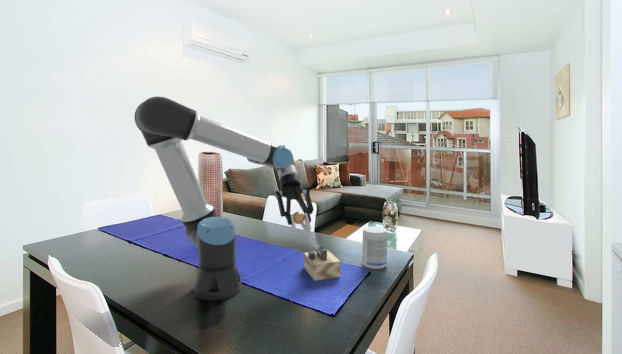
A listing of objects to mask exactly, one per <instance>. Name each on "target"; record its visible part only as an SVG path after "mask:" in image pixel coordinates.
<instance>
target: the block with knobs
mask: <svg viewBox="0 0 622 354" xmlns="http://www.w3.org/2000/svg"><path fill="white" fill-rule="evenodd" d="M318 245H319V246H320V248H321V249H322V250H321V256H320V255H319V254H318V250H317V249H316V250H315V251H313V250H309V251H306V252H304V253H303V268H304V270H305V271H306V272H307V273H308V275H309V276H310V277H311V279H312V280H313V281H314V282H317V281H322V280H329V279H335V277H336V278H340V277H341V260H340V259H339V258H337V256H335V255H334V253H332V252H331V251H330V250H328V249H326V248H325V249H323V245H322V244H318Z"/></svg>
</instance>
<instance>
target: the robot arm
mask: <svg viewBox="0 0 622 354" xmlns="http://www.w3.org/2000/svg"><path fill="white" fill-rule="evenodd" d="M134 123H135V124H136V126H137V127H136V128H138V130H139V131H140V132H141V134H142V136H143V139H144V140H145V143H146V145H147V147H149V148H151V149H153V150H155V152H156V155H157V157H158V160H159V161H160V164H161V166H162V168H163V170H164V173H165V175H166V177H167V180H168V182H169V184H170V186H171V188H172V190H173V193H174V195H175V198H176V200H177V202H178V203H179V207H180V208H181V211H182V213H183V214H182V216H181V219H180V221H181V222H182V225H183V227H184V232H185V235H186V237H187V239H188V241H190V242H191V243H192V244H193V245H194V246H195V247H196V249H197V252H198V267H199V268H198V272H197V275H196V279H195V282H194V285H193V288H194V289H193V292H194V295H195V297H196V298H197V299H200V300H204V301H221V300H224V299H225V300H226V299H228V298H231V297H233V296H235V295H237V294H238V293H239V292H240V291H241V290H242V288H243V287H242V279H241V276H240V273H239V270H238V268H237V266H236V265H237V264H236V263H237V262H236V261H237V260H236V234H237V233H236V229H235V223H234V221H233V220H231V219H230V218H228V217H223V216H218V214H217V212H216V210H215V207H214V206H213V205H212V204H210V203H208V202H207V200H206V197H205V194H204V192H203V190H202V187H201V184H200V182H199V181H198V177H197V176H196V173H195V171H194V168H193V166H192V163H191V161H190V159H189V156H188V154H187V151H186V149H185V147H184V144H183V142H182V141H189V140H193V141H196V142H199V143H202V144H204V145H208V146H211V147H214V148H217V149H220V150H222V151H226V152H229V153H232V154H235V155H238V156H241V157H244V158H246V159H247V160H246V161H248V162H250V163H252V164H257V165H261V166H267V167H270V168H276V171H277V174H278V180H279V184H280V189H281V190H276V191H275V194H274V197H275V198H276V200H277V205H278V209H279V213H280V214H279V215H280V217H282V218H283V217H284V218H285V219H286V222H287V225H288V226H291V232H292V235H295V234H296V232H297V226H296V223H295V222H294V218H293V214H294V213H291V205H292V204H291V203H292V201H293V200H296V202H297V203H298V205H299V207H300V209H301V211H302V213H303V215H304V221H303V222H304V224H305V225H306V229H307V232H310V233H311V230H312V226H311V222H312V217H311V215H312V214H313V212H314V206H313V203H312V202H313V201H312V198H311V195H310V193H311V192H310V189H309V188H307V189H303V187H302V186H301V182H300V181H301V180H300V178H299V175H298V174H299V173H298V171H297V167H296V163H295V159H294V155H293V152H292V150H291V147H290V146H288V145H285V144H283V145H277V144H274V143H271V142H269V141H266V140H263V139H261V138H259V137H256V136H253V135H251V134H248V133H245V132H243V131H241V130H237V129H235V128H233V127H230V126H227V125H224V124H222V123H219V122H216V121H215V120H211V119H210V118H209V119H208V118H206V117H204V116H201V115H199V114H198V111H197V110H196V109H195V110H194V109H193V108H190V107H188V106H187V105H186V106H185V105H184V104H182V103H179V102H177V101H175V100H172V99H170V98H168V97H164V96H152V97H149V98H147V99H145V100H144V101H142V102H141V103H140V104H139V105H138V106H137V107H136V109H135V112H134ZM302 194H303V196H304V199H305V201H304V199H303V196H302ZM283 196H284V197H285V198H286V200H285V201H286V206H285V205H284V201H283Z"/></svg>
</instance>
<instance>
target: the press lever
mask: <svg viewBox="0 0 622 354" xmlns="http://www.w3.org/2000/svg"><path fill="white" fill-rule="evenodd" d="M292 214H293V218H294V222H295V225H300V226H301V227H302V229H303V230H304V232H305V233H306V235H307V236H308V238H309V239H310V241H311V242H312V244H313V245H314V247H315V248H316V251H317V250H318V254H319V255H320V256H321V250H323V248H322V249H321V248H320V246H319V245H320V244H319V243H318V242H317V240H316V239H315V237H314V235H313V234H312V233H311V231H310V232H307V229H306V225H305V221H304V212H301V211H296V212H294V213H292Z"/></svg>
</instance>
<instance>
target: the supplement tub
mask: <svg viewBox="0 0 622 354" xmlns="http://www.w3.org/2000/svg"><path fill="white" fill-rule="evenodd" d="M387 262H388V230H387V229H386V228H385V227H381V226H366V227H364V228H363V231H362V265H363V266H364V267H366V268H369V269H372V270H381V269H384V268H386V266H387Z"/></svg>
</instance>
